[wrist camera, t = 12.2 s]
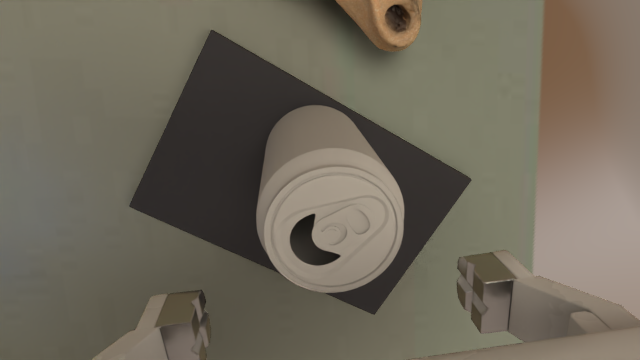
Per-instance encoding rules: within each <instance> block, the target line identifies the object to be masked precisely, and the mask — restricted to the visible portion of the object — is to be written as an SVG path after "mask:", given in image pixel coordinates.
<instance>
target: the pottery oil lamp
mask: <svg viewBox="0 0 640 360" xmlns="http://www.w3.org/2000/svg"><path fill="white" fill-rule="evenodd" d="M335 1H336V2H337V3H338V4H339V5H340V6H341V7H342V8H343V9H344V10H345V12H346V13H347V14H348V15H349V16H350V17H351V18H352V19H353V20H354V21H355V22H356V24H357V25H358V26H359V27H360V28H361V29H362V31H363V32H364V33H365V34H366V35H367V37H368V38H369V39H370V40H371V41H372V43H373V44H375V45H376V46H377V47H378V48H380V49H382V50H386V51H391V52H392V51H401V50H404V49H406V48H407V47H408V46H410V44H412V43H413V41H414V40H415V39H416V37H417V35H418V32H419V29H420V25H421V10H422V0H335Z"/></svg>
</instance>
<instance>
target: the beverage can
mask: <svg viewBox="0 0 640 360" xmlns="http://www.w3.org/2000/svg"><path fill="white" fill-rule="evenodd" d="M256 222H257V232H258V236H259V239H260V241H261V244H262V246H263V248H264V250H265V251H266V253H267V254H268V256H269V258H270V260H271V262H272V263H273V265H274V266H275V267H276V269H277V270H278V271H279V272H280V273H281V274H282V275H283V276H284V277H285V278H287V279H288V280H289V281H291V282H292V283H294V284H296V285H298V286H300V287H303V288H305V289H308V290H312V291H316V292H325V293H336V292H344V291H348V290H352V289H355V288H358V287H360V286H363V285H365V284H367V283H369V282H370V281H372V280H373V279H375V278H376V277H378V276H379V275H380V274H381V273H382V272H383V271H384V270H385V269H386V268H387V267H388V266H389V265H390V264H391V262H392V261H393V259H394V258H395V256H396V254H397V252H398V250H399V248H400V245H401V242H402V238H403V229H404V202H403V197H402V194H401V191H400V188H399V186H398V184H397V182H396V181H395V179H394V178H393V176H392V175H391V173H390V172H389V171H388V169H387V168H386V166H385V165H384V164H383V162H382V161H381V160H380V158H379V157H378V155H377V154H376V153H375V151H374V150H373V149H372V147H371V146H370V145H369V143H368V142H367V140H366V139H365V138H364V136H363V135H362V134H361V132H360V131H359V130H358V128H357V127H356V125H355V124H354V123H353V122H352V121H351V120H350V118H348V117H347V116H346V115H345V114H343V113H342V112H340V111H338V110H336V109H334V108H331V107H327V106H322V105H309V106H304V107H300V108H297V109H295V110H293V111H291V112H289V113H287V114H286V115H285V116H283V117H282V118H281V119H280V120H279V121H278V122H277V123H276V125H275V126H274V127H273V129H272V131H271V133H270V135H269V137H268V140H267V144H266V150H265V157H264V163H263V170H262V177H261V183H260V190H259V197H258V204H257V211H256Z"/></svg>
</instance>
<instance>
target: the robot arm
mask: <svg viewBox="0 0 640 360" xmlns="http://www.w3.org/2000/svg"><path fill="white" fill-rule="evenodd" d="M457 269H458V270H459V271H460V273H461V276H460V277H459V278H458V280H457V293H458V298H459V300H460V303H461V305H462V306H463V308H464V309H465V310H466V311H468V312H470V313H471V320H472V321H473V323H474V324H475V326H476V327H477V329H478V330H479V332H480V333H481V334H483V333H492V332H501V331H508V332H509V333H511V334H513V335H514V336H516V337H517V338H519V339H520V340H522V341H524V343H517V344H511V345H504V346H497V347H490V348H483V349H476V350H469V351H462V352H455V353H449V354H442V355H435V356H428V357H421V358H414V359H407V360H640V320H638V319H637V318H635V316H633V315H632V314H631V313H630V312H628V311H627V310H626V309H625V308H623V307H622V306H621V305H619V304H616V303H613V302H610V301H608V300H605V299H602V298H599V297H596V296H594V295H590V294H588V293H585V292H583V291H580V290H577V289H574V288H571V287H569V286H566V285H563V284H560V283H557V282H554V281H551V280H549V279H546V278H543V277H541V276H536V277H535V276H534V275H533V274H531V273H530V272H529V271H528V270H527V269H526V268H525V267H524V266H523V265H522V264H521V263H520V262H519V261H518V260H517V259H516V258H515V257H514V256H513V255H511V254H510V253H509V252H508V251H506V250H501V251H495V252H489V253H483V254H477V255H470V256H463V257H459V259H458V266H457ZM205 303H206V300H205V296H204V292H203V291H202V290H197V291H187V292H178V293H170V294H161V295H154V296H152V297H150V299H149V301H148V303H147V305H146V308H145V310H144V312H143V314H142V316H141V318H140V320H139V323H138V325H137V327H136V329H135V330H133V331H129V332H128V333H126V334H125V335H124V336H122V337H121V338H120V339H118V340H117V341H116V342H114V343H113V344H112V345H110V346H109V347H107V348H106V349H105V350H103V351H102V352H101V353H99V354H98V355H97V356H95V357H94V358H93V359H91V360H206V358H207V354H206V350H205V348H206V347H207V346H208V345H209V343H210V338H211V325H210V318H209V313H207V312H206V311H205V310H204V308H205Z"/></svg>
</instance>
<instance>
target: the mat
mask: <svg viewBox="0 0 640 360" xmlns="http://www.w3.org/2000/svg"><path fill="white" fill-rule="evenodd" d="M309 105H322V106H327V107H331V108H334V109H336V110H338V111H340V112H342V113H343V114H345V115H346V116H347V117H348V118H350V120H351V121H352V122H353V123H354V124H355V125H356V127H357V128H358V130H359V131H360V132H361V134H362V135H363V136H364V138H365V139H366V140H367V142H368V143H369V145H370V146H371V147H372V149H373V150H374V151H375V153H376V154H377V155H378V157H379V158H380V160H381V161H382V162H383V164H384V165H385V166H386V168H387V169H388V171H389V172H390V173H391V175H392V176H393V178H394V179H395V181H396V182H397V184H398V186H399V188H400V191H401V194H402V197H403V202H404V229H403V238H402V242H401V245H400V248H399V250H398V252H397V254H396V256H395V258H394V259H393V261H392V262H391V264H390V265H389V266H388V267H387V268H386V269H385V270H384V271H383V272H382V273H381V274H380V275H379V276H378V277H376V278H375V279H373V280H372V281H370V282H369V283H367V284H365V285H363V286H360V287H358V288H355V289H352V290H348V291H344V292H336V293H326V294H328V295H331V296H333V297H335V298H337V299H340V300H342V301H344V302H346V303H349V304H351V305H353V306H355V307H358V308H360V309H362V310H365V311H367V312H369V313H371V314H375V313H376V312H377V310H378V309H379V308H380V306H381V305H382V303H383V302H384V301H385V299H386V298H387V296H388V295H389V294H390V292H391V291H392V290H393V288H394V287H395V285H396V284H397V283H398V281H399V280H400V278H401V277H402V276H403V274H404V273H405V272H406V270H407V269H408V267H409V266H410V265H411V263H412V262H413V260H414V259H415V258H416V256H417V255H418V254H419V252H420V251H421V249H422V248H423V247H424V245H425V244H426V242H427V241H428V240H429V238H430V237H431V236H432V234H433V233H434V231H435V230H436V229H437V227H438V226H439V224H440V223H441V222H442V220H443V219H444V218H445V216H446V215H447V213H448V212H449V211H450V209H451V208H452V206H453V205H454V204H455V202H456V201H457V200H458V198H459V197H460V195H461V194H462V193H463V191H464V190H465V188H466V187H467V186H468V184H469V183H470V182H471V179H470V178H469V177H467V176H466V175H464V174H462V173H461V172H459V171H457V170H455V169H454V168H452V167H450V166H448V165H447V164H445V163H443V162H441V161H440V160H438V159H436V158H434V157H433V156H431V155H429V154H427V153H426V152H424V151H422V150H421V149H419V148H417V147H415V146H414V145H412V144H410V143H408V142H407V141H405V140H403V139H401V138H400V137H398V136H396V135H394V134H393V133H391V132H389V131H387V130H386V129H384V128H382V127H380V126H379V125H377V124H375V123H374V122H372V121H370V120H368V119H367V118H365V117H363V116H361V115H360V114H358V113H356V112H354V111H353V110H351V109H349V108H347V107H346V106H344V105H342V104H340V103H339V102H337V101H335V100H334V99H332V98H330V97H328V96H327V95H325V94H323V93H321V92H320V91H318V90H316V89H314V88H313V87H311V86H309V85H307V84H306V83H304V82H302V81H300V80H299V79H297V78H295V77H294V76H292V75H290V74H288V73H287V72H285V71H283V70H281V69H280V68H278V67H276V66H274V65H273V64H271V63H269V62H267V61H266V60H264V59H262V58H260V57H259V56H257V55H255V54H254V53H252V52H250V51H248V50H247V49H245V48H243V47H241V46H240V45H238V44H236V43H234V42H233V41H231V40H229V39H227V38H226V37H224V36H222V35H220V34H219V33H217V32H215V31H213V30H211V31H210V34H209V36H208V38H207V40H206V42H205V44H204V47H203V49H202V51H201V53H200V55H199V57H198V59H197V62H196V64H195V66H194V68H193V70H192V72H191V74H190V77H189V79H188V81H187V83H186V85H185V87H184V89H183V92H182V94H181V96H180V98H179V100H178V102H177V105H176V107H175V109H174V111H173V113H172V115H171V117H170V120H169V122H168V124H167V126H166V128H165V130H164V132H163V135H162V137H161V139H160V141H159V143H158V145H157V147H156V150H155V152H154V154H153V156H152V158H151V160H150V163H149V165H148V167H147V169H146V171H145V173H144V175H143V178H142V180H141V182H140V184H139V186H138V188H137V190H136V193H135V195H134V197H133V199H132V201H131V203H130V205H129V207H131V208H134V209H136V210H138V211H140V212H143V213H145V214H147V215H149V216H152V217H154V218H156V219H159V220H161V221H163V222H165V223H168V224H170V225H172V226H174V227H177V228H179V229H181V230H183V231H186V232H188V233H190V234H192V235H195V236H197V237H199V238H202V239H204V240H206V241H208V242H211V243H213V244H215V245H217V246H220V247H222V248H224V249H226V250H229V251H231V252H233V253H235V254H238V255H240V256H242V257H245V258H247V259H249V260H251V261H254V262H256V263H258V264H260V265H263V266H265V267H267V268H269V269H272V270H274V271H276V272H279V271H278V270H277V269H276V267H275V266H274V265H273V263H272V262H271V260H270V258H269V256H268V254H267V253H266V251H265V250H264V248H263V246H262V244H261V241H260V239H259V236H258V232H257V222H256V211H257V204H258V197H259V190H260V183H261V177H262V170H263V163H264V157H265V150H266V144H267V140H268V137H269V135H270V133H271V131H272V129H273V127H274V126H275V125H276V123H277V122H278V121H279V120H280V119H281V118H282V117H283V116H285V115H286V114H287V113H289V112H291V111H293V110H295V109H297V108H300V107H304V106H309ZM279 273H280V272H279ZM324 293H325V292H324Z"/></svg>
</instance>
